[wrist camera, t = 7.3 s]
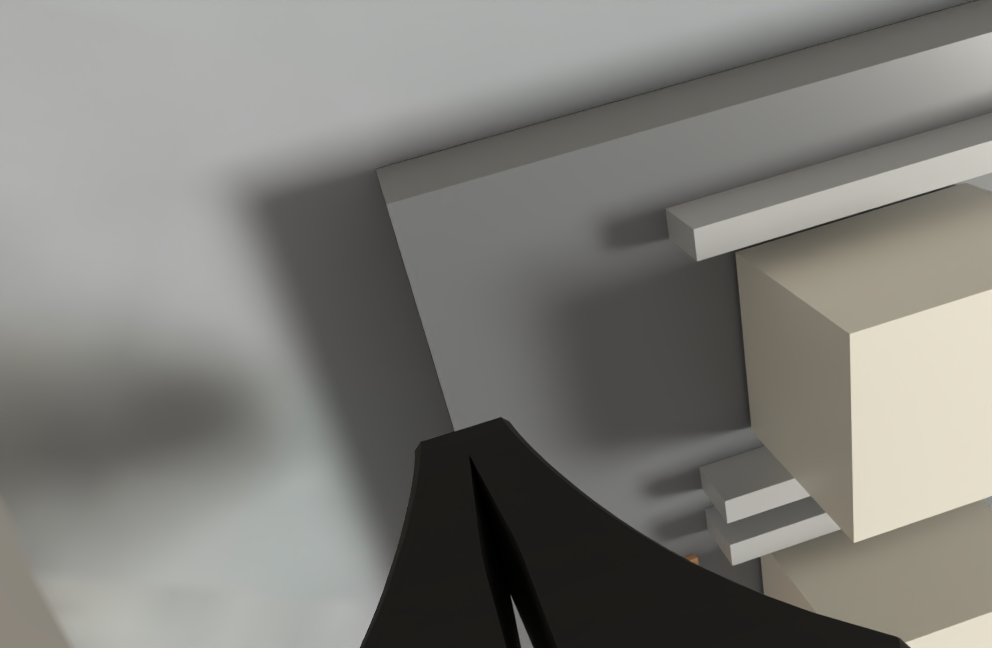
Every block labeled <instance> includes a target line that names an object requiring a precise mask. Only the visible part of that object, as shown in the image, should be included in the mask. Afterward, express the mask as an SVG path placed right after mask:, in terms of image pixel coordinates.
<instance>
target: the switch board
mask: <svg viewBox="0 0 992 648" xmlns="http://www.w3.org/2000/svg"><path fill="white" fill-rule="evenodd" d="M376 173H377V176H378V179H379V182H380V186H381V189H382V192H383V196H384V199H385V202H386V206H387V209H388V212H389V216H390V219H391V222H392V226H393V229H394V232H395V235H396V239H397V242H398V245H399V249H400V252H401V255H402V259H403V262H404V265H405V269H406V272H407V275H408V279H409V282H410V285H411V288H412V292H413V295H414V298H415V302H416V305H417V308H418V312H419V315H420V318H421V322H422V325H423V328H424V332H425V335H426V338H427V342H428V345H429V348H430V351H431V355H432V358H433V361H434V365H435V368H436V371H437V375H438V378H439V381H440V385H441V388H442V391H443V395H444V398H445V401H446V404H447V408H448V411H449V414H450V418H451V421H452V424H453V428H454V431H458V430H461V429H464V428H467V427H471V426H474V425H477V424H480V423H483V422H486V421H490V420H493V419H496V418H499V417H502V418H504V419H506V420H508V421H510V422H511V424H512V425H513V427H514V428H515V429H516V430H517V431H518V433H519V434H520V435H521V436H522V437H523V438H524V439H525V440H526V441H527V442H528V443H529V445H530V446H531V447H532V448H533V449H534V450H535V451H537V452H538V453H539V454H540V455H541V456H542V457H543V458H544V459H545V460H546V461H547V462H548V463H549V464H550V465H551V466H553V467H554V468H555V469H556V470H557V471H558V472H559V473H561V474H562V475H563V476H564V477H565V478H567V479H568V480H569V481H570V482H571V483H573V484H574V485H575V486H576V487H577V488H579V489H580V490H581V491H582V492H584V493H585V494H586V495H588V496H589V497H590V498H591V499H593V500H594V501H595V502H597V503H598V504H599V505H601V506H602V507H604V508H605V509H606V510H608V511H609V512H611V513H612V514H613V515H615V516H616V517H618V518H619V519H621V520H622V521H624V522H625V523H627V524H628V525H630V526H631V527H633V528H634V529H636V530H637V531H639V532H640V533H642V534H644V535H645V536H647V537H649V538H650V539H652V540H654V541H655V542H657V543H659V544H661V545H662V546H664V547H666V548H667V549H669V550H671V551H673V552H675V553H676V554H678V555H680V556H682V557H684V558H686V559H688V560H690V561H692V562H693V563H695V564H697V565H699V566H701V567H703V568H705V569H707V570H709V571H712V572H714V573H716V574H718V575H721V576H723V577H725V578H727V579H730V580H732V581H734V582H736V583H739V584H741V585H743V586H745V587H748V588H750V589H752V590H754V591H757V592H759V593H761V594H764V589H763V578H762V567H761V557H760V556H763V555H766V554H769V553H772V552H775V551H778V550H781V549H784V548H787V547H790V546H793V545H796V544H799V543H802V542H805V541H808V540H811V539H813V538H816V537H819V536H822V535H825V534H828V533H831V532H834V531H837V530H840V529H841V528H840V527H839V526H838V525H837V524H836V523H835V522H834V521H833V520H832V519H831V517H830V516H829V515H828V514H827V513H826V512H825V511H824V510H823V509H822V508H821V507H820V505H819V504H818V503H817V502H816V501H815V500H814V499H813V498H812V497H811V496H810V495H809V493H808V492H807V491H806V490H805V489H804V488H803V487H802V486H801V485H800V484H799V482H798V481H797V480H796V479H795V478H794V477H793V476H792V475H791V474H790V473H789V472H788V470H787V469H786V468H785V467H784V466H783V465H782V464H781V463H780V462H779V461H778V460H777V458H776V457H775V456H774V455H773V454H772V453H771V452H770V451H769V450H768V449H767V447H766V446H765V445H764V444H763V443H762V442H761V441H760V440H759V439H758V438H757V437H756V435H755V434H754V433H753V432H752V430H751V419H750V408H749V397H748V386H747V375H746V364H745V353H744V342H743V331H742V320H741V309H740V298H739V287H738V276H737V265H736V254H735V252H738V251H741V250H744V249H748V248H751V247H754V246H757V245H761V244H764V243H767V242H771V241H774V240H777V239H781V238H784V237H787V236H791V235H794V234H797V233H800V232H804V231H807V230H810V229H814V228H817V227H820V226H824V225H827V224H830V223H834V222H837V221H840V220H844V219H847V218H850V217H853V216H857V215H860V214H863V213H867V212H870V211H873V210H877V209H880V208H883V207H887V206H890V205H893V204H896V203H900V202H903V201H906V200H910V199H913V198H916V197H920V196H923V195H926V194H930V193H933V192H936V191H940V190H943V189H946V188H949V187H953V186H956V185H959V184H963V183H968V184H971V185H974V186H977V187H979V188H982V189H985V190H988V191H991V192H992V0H977V1H974V2H970V3H967V4H963V5H959V6H956V7H952V8H949V9H945V10H942V11H938V12H934V13H931V14H927V15H924V16H920V17H917V18H913V19H909V20H906V21H902V22H899V23H895V24H892V25H888V26H884V27H881V28H877V29H874V30H870V31H867V32H863V33H860V34H856V35H852V36H849V37H845V38H842V39H838V40H835V41H831V42H827V43H824V44H820V45H817V46H813V47H810V48H806V49H802V50H799V51H795V52H792V53H788V54H785V55H781V56H777V57H774V58H770V59H767V60H763V61H760V62H756V63H752V64H749V65H745V66H742V67H738V68H735V69H731V70H728V71H724V72H720V73H717V74H713V75H710V76H706V77H703V78H699V79H695V80H692V81H688V82H685V83H681V84H678V85H674V86H670V87H667V88H663V89H660V90H656V91H653V92H649V93H645V94H642V95H638V96H635V97H631V98H628V99H624V100H621V101H617V102H613V103H610V104H606V105H603V106H599V107H596V108H592V109H588V110H585V111H581V112H578V113H574V114H571V115H567V116H563V117H560V118H556V119H553V120H549V121H546V122H542V123H538V124H535V125H531V126H528V127H524V128H521V129H517V130H514V131H510V132H506V133H503V134H499V135H496V136H492V137H489V138H485V139H481V140H478V141H474V142H471V143H467V144H464V145H460V146H456V147H453V148H449V149H446V150H442V151H439V152H435V153H431V154H428V155H424V156H421V157H417V158H414V159H410V160H407V161H403V162H399V163H396V164H392V165H389V166H385V167H382V168H378V169H376ZM981 501H983V502H984V503H985V504H986V505H987V506H989V507H990V508H991V509H992V496H990V497H987V498H984V499H982V500H981ZM511 599H512V597H511ZM512 604H513V609H514V614H515V619H516V624H517V629H518V634H519V639H520V643H521V648H533V646H532V644H531V641H530V639H529V637H528V634H527V632H526V629H525V627H524V625H523V622H522V620H521V618H520V615H519V613H518V611H517V608H516V606H515V604H514V601H513V599H512Z"/></svg>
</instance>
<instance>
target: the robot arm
mask: <svg viewBox="0 0 992 648" xmlns="http://www.w3.org/2000/svg"><path fill="white" fill-rule="evenodd" d="M511 597H512V599H513V601H514V604H515V606H516V608H517V611H518V613H519V615H520V618H521V620H522V622H523V625H524V627H525V629H526V632H527V634H528V637H529V639H530V641H531V644H532V646H533V648H911V647H909V646H908V645H907V644H906V643H905V642H904V641H903V640H902V639H901V638H899V637H896V636H893V635H889V634H886V633H882V632H879V631H876V630H872V629H869V628H865V627H862V626H858V625H855V624H851V623H848V622H844V621H841V620H838V619H834V618H831V617H827V616H824V615H820V614H817V613H814V612H811V611H808V610H805V609H802V608H799V607H796V606H794V605H791V604H788V603H786V602H783V601H780V600H777V599H775V598H772V597H769V596H766V595H764V594H761V593H759V592H757V591H754V590H752V589H750V588H748V587H745V586H743V585H741V584H739V583H736V582H734V581H732V580H730V579H727V578H725V577H723V576H721V575H718V574H716V573H714V572H712V571H709V570H707V569H705V568H703V567H701V566H699V565H697V564H695V563H693V562H692V561H690V560H688V559H686V558H684V557H682V556H680V555H678V554H676V553H675V552H673V551H671V550H669V549H667V548H666V547H664V546H662V545H661V544H659V543H657V542H655V541H654V540H652V539H650V538H649V537H647V536H645V535H644V534H642V533H640V532H639V531H637V530H636V529H634V528H633V527H631V526H630V525H628V524H627V523H625V522H624V521H622V520H621V519H619V518H618V517H616V516H615V515H613V514H612V513H611V512H609V511H608V510H606V509H605V508H604V507H602V506H601V505H599V504H598V503H597V502H595V501H594V500H593V499H591V498H590V497H589V496H588V495H586V494H585V493H584V492H582V491H581V490H580V489H579V488H577V487H576V486H575V485H574V484H573V483H571V482H570V481H569V480H568V479H567V478H565V477H564V476H563V475H562V474H561V473H559V472H558V471H557V470H556V469H555V468H554V467H553V466H551V465H550V464H549V463H548V462H547V461H546V460H545V459H544V458H543V457H542V456H541V455H540V454H539V453H538V452H537V451H535V450H534V449H533V448H532V447H531V446H530V445H529V443H528V442H527V441H526V440H525V439H524V438H523V437H522V436H521V435H520V434H519V433H518V431H517V430H516V429H515V428H514V427H513V425H512V424H511V422H510V421H508V420H506V419H504V418H502V417H499V418H496V419H493V420H490V421H486V422H483V423H480V424H477V425H474V426H471V427H467V428H464V429H461V430H458V431H455V432H451V433H448V434H445V435H442V436H439V437H435V438H432V439H429V440H426V441H423V442H420V444H419V446H418V447H417V449H416V450H415V467H414V476H413V482H412V488H411V494H410V499H409V504H408V508H407V512H406V516H405V520H404V524H403V529H402V533H401V537H400V540H399V544H398V547H397V551H396V554H395V557H394V560H393V563H392V566H391V569H390V572H389V575H388V578H387V581H386V584H385V587H384V590H383V593H382V596H381V598H380V601H379V604H378V606H377V609H376V611H375V614H374V616H373V619H372V621H371V624H370V626H369V628H368V630H367V633H366V635H365V637H364V639H363V642H362V644H361V646H360V648H521V643H520V639H519V634H518V629H517V624H516V619H515V614H514V609H513V604H512V599H511Z"/></svg>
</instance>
